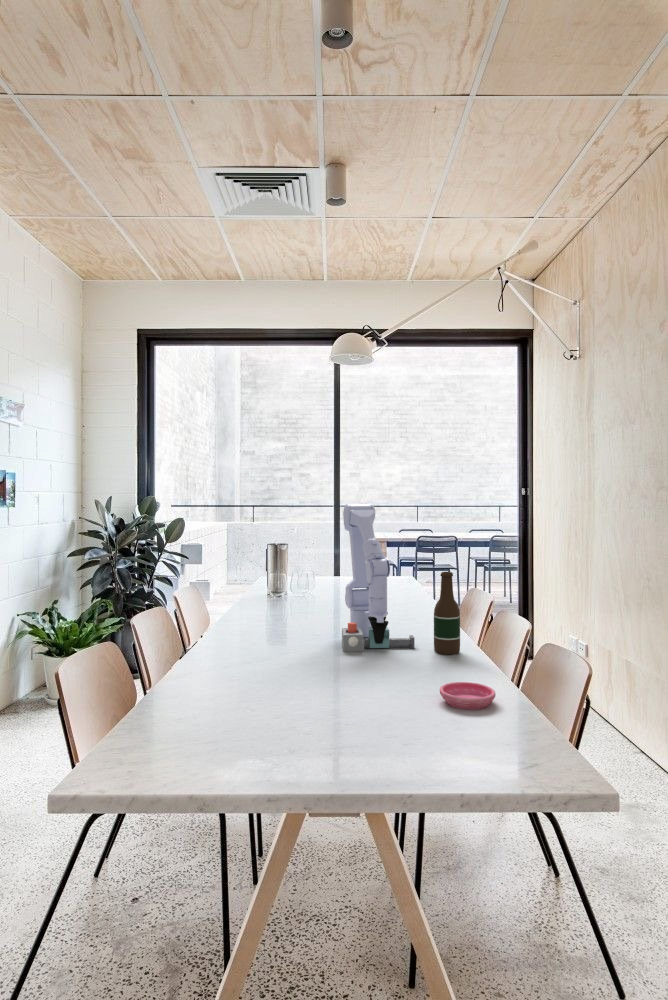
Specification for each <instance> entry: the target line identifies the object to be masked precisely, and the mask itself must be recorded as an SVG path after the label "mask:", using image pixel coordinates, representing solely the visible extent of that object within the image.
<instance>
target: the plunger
mask: <svg viewBox="0 0 668 1000" xmlns="http://www.w3.org/2000/svg"><path fill="white" fill-rule="evenodd" d="M347 628H348V633H357V623H354V622H351V623H350V622H347Z"/></svg>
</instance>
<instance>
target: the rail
mask: <svg viewBox="0 0 668 1000" xmlns="http://www.w3.org/2000/svg"><path fill="white" fill-rule="evenodd" d="M364 648H365V649H371V648H370V640H369V638H364ZM400 648H401V649H402V648H405V649H407V648H408V649H409V648H410V649H415V637H414V635H413V634H409V636H408V637H402V638H401V637H400V638H399V637H398V638H396V637H391V638H390V637H389V648H388V649H400Z"/></svg>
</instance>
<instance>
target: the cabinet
mask: <svg viewBox="0 0 668 1000" xmlns="http://www.w3.org/2000/svg"><path fill="white" fill-rule="evenodd" d="M341 646H342V647H341V648H342V650H343V653H345V652H349V653H350V652H351V653H352V652H364V637H363V633H362V630H361V628H357V633H348V627H346V628H345V627H343V628H342V627H341Z"/></svg>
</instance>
